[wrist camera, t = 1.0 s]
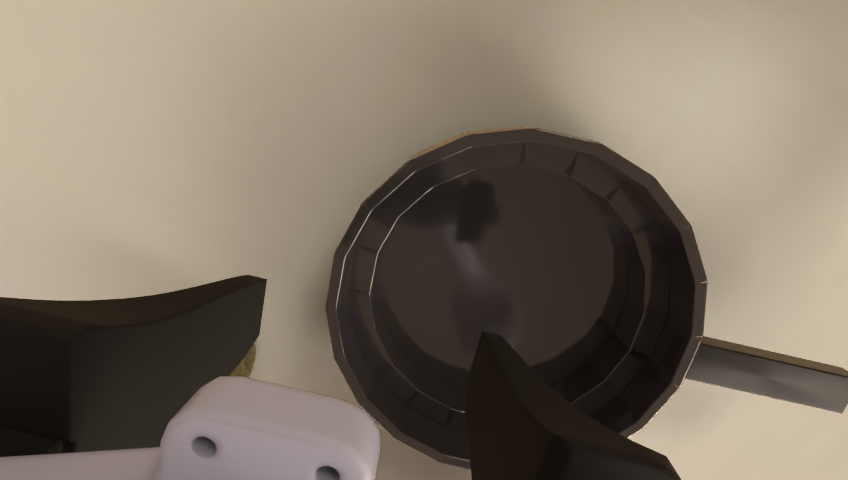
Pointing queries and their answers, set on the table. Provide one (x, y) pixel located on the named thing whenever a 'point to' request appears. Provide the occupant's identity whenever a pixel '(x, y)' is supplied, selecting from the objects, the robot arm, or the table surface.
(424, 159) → the skillet
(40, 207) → the table surface
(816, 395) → the skillet handle
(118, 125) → the table surface
